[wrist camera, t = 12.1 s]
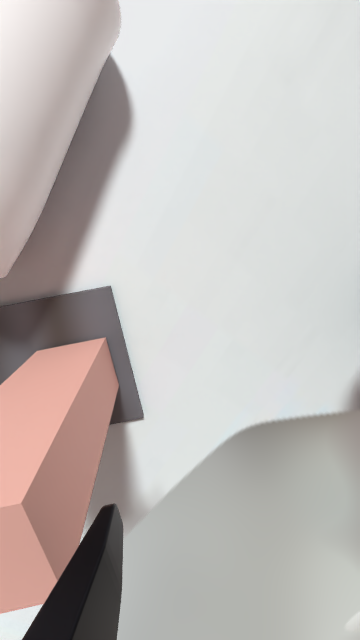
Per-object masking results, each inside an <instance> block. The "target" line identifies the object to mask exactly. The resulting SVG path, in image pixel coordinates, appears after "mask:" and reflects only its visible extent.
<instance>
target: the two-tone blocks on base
mask: <svg viewBox="0 0 360 640" xmlns="http://www.w3.org/2000/svg"><path fill="white" fill-rule="evenodd" d="M105 337H106V340H107V344H108V347H109V351H110V355H111V358H112V362H113V365H114V369H115V373H116V376H117V380H118V383H119V387H118V391H117V395H116V399H115V403H114V407H113V411H112V415H111V419H110V423H109V425H110V424H115V423H120V422H124V421H129V420H134V419H139V418H143V410H142V407H141V403H140V399H139V395H138V391H137V387H136V383H135V379H134V375H133V371H132V368H131V364H130V360H129V356H128V352H127V348H126V344H125V340H124V336H123V332H122V328H121V325H120V321H119V317H118V313H117V309H116V305H115V301H114V297H113V293H112V289H111V286H106V287H101V288H96V289H91V290H85V291H80V292H75V293H70V294H64V295H59V296H54V297H49V298H43V299H38V300H33V301H28V302H23V303H17V304H12V305H7V306H2V307H0V385H1V384H2V383H3V382H4V381H5V380H6V379H8V378H9V377H10V376H11V375H12V374H13V373H14V372H15V371H16V370H17V369H18V368H19V367H20V366H21V365H23V364H24V363H25V362H26V361H27V360H28V359H29V358H30V357H31V356H32V355H33V354H34V353H35V352H36V351H39V350H44V349H49V348H54V347H59V346H64V345H69V344H74V343H80V342H85V341H90V340H95V339H100V338H105Z"/></svg>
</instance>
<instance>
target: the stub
mask: <svg viewBox="0 0 360 640" xmlns="http://www.w3.org/2000/svg"><path fill="white" fill-rule="evenodd" d="M118 387H119V383H118V380H117V376H116V373H115V369H114V365H113V362H112V358H111V355H110V351H109V347H108V344H107V340H106V337H105V338H100V339H95V340H90V341H85V342H80V343H74V344H69V345H64V346H59V347H54V348H49V349H44V350H39V351H36V352H35V353H34V354H33V355H32V356H31V357H30V358H29V359H28V360H27V361H26V362H25V363H24V364H23V365H21V366H20V367H19V368H18V369H17V370H16V371H15V372H14V373H13V374H12V375H11V376H10V377H9V378H8V379H6V380H5V381H4V382H3V383H2V384H1V385H0V614H1V613H6V612H10V611H14V610H19V609H23V608H27V607H32V606H36V605H40V604H44V603H45V601H46V599H47V598H48V596H49V594H50V593H51V591H52V589H53V588H54V586H55V584H56V583H57V581H58V579H59V578H60V576H61V574H62V573H63V571H64V570H65V568H66V566H67V565H68V563H69V561H70V560H71V558H72V556H73V555H74V553H75V551H76V550H77V548H78V546H79V543H80V539H81V535H82V531H83V527H84V523H85V519H86V515H87V511H88V507H89V503H90V499H91V495H92V491H93V487H94V483H95V479H96V475H97V471H98V467H99V463H100V459H101V455H102V451H103V447H104V443H105V439H106V435H107V431H108V427H109V423H110V419H111V415H112V411H113V407H114V403H115V399H116V395H117V391H118Z"/></svg>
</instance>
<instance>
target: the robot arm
mask: <svg viewBox="0 0 360 640" xmlns="http://www.w3.org/2000/svg"><path fill="white" fill-rule="evenodd" d="M122 561H123V523H122V519H121V516H120V513H119V510H118V507H117V505H116V504H110V505H105V506H103V507H102V508H101V510H100V512H99V513H98V515H97V517H96V518H95V520H94V522H93V523H92V525H91V527H90V528H89V530H88V532H87V533H86V535H85V536H84V538H83V540H82V541H81V543H80V545H79V546H78V548H77V550H76V551H75V553H74V555H73V556H72V558H71V560H70V561H69V563H68V565H67V566H66V568H65V570H64V571H63V573H62V574H61V576H60V578H59V579H58V581H57V583H56V584H55V586H54V588H53V589H52V591H51V593H50V594H49V596H48V598H47V599H46V601H45V603H44V604H43V606H42V607H41V609H40V611H39V612H38V614H37V616H36V617H35V619H34V621H33V622H32V624H31V626H30V627H29V629H28V631H27V632H26V634H25V636H24V637H23V639H22V640H117V631H118V622H119V613H120V603H121V592H122Z"/></svg>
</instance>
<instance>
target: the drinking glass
mask: <svg viewBox="0 0 360 640" xmlns="http://www.w3.org/2000/svg"><path fill="white" fill-rule="evenodd" d="M120 29H121V12H120V6H119V2H118V0H0V279H1V278H4V277H5V276H7V274H8V272H9V271H10V269H11V267H12V266H13V264H14V263H15V261H16V259H17V258H18V256H19V254H20V253H21V251H22V249H23V248H24V246H25V244H26V242H27V241H28V239H29V237H30V235H31V233H32V231H33V229H34V227H35V225H36V223H37V221H38V219H39V217H40V215H41V213H42V210H43V208H44V206H45V204H46V201H47V199H48V196H49V194H50V192H51V189H52V187H53V184H54V182H55V180H56V177H57V175H58V172H59V170H60V168H61V165H62V163H63V160H64V158H65V155H66V153H67V151H68V148H69V146H70V143H71V141H72V139H73V136H74V134H75V131H76V129H77V127H78V124H79V122H80V119H81V117H82V115H83V112H84V110H85V108H86V105H87V103H88V101H89V98H90V96H91V94H92V91H93V89H94V87H95V84H96V82H97V80H98V77H99V75H100V73H101V70H102V68H103V66H104V64H105V62H106V60H107V58H108V57H109V55H110V53H111V51H112V49H113V47H114V45H115V43H116V41H117V39H118V36H119V34H120Z"/></svg>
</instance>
